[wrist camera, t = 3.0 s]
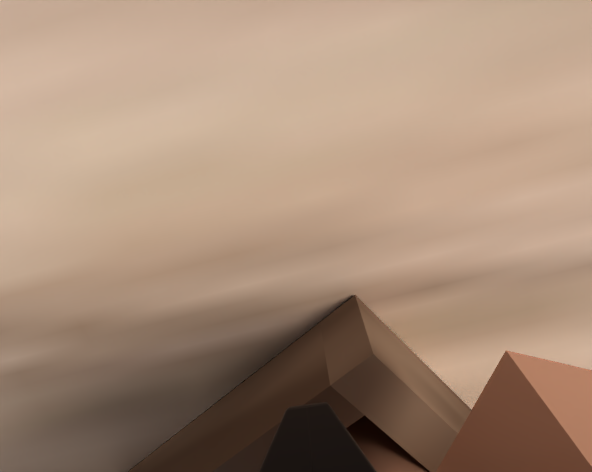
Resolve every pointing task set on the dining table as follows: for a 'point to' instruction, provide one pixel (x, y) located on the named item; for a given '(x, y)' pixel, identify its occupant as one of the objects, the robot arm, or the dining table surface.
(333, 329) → the socket
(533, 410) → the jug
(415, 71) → the dining table surface
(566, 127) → the dining table surface
